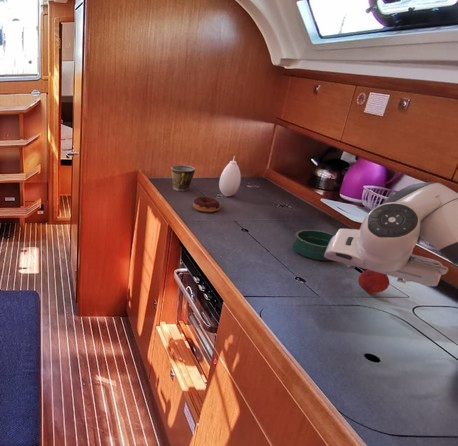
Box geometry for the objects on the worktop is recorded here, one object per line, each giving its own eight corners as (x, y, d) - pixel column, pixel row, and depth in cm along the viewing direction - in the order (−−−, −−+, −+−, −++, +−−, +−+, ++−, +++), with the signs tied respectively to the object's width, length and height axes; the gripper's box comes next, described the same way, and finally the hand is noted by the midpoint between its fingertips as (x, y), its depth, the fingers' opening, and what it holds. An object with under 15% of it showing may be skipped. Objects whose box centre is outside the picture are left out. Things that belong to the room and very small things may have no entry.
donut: (215, 215, 152) (217, 205, 151) (189, 210, 158) (190, 201, 156) (221, 207, 160) (223, 198, 158) (196, 202, 165) (197, 194, 164)
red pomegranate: (361, 298, 100) (371, 271, 97) (350, 286, 105) (359, 260, 102) (389, 300, 99) (400, 273, 96) (375, 288, 104) (385, 261, 101)
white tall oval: (240, 199, 167) (248, 157, 160) (220, 198, 168) (227, 157, 161) (234, 192, 174) (241, 152, 167) (215, 192, 175) (221, 152, 168)
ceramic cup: (168, 185, 188) (171, 164, 184) (191, 186, 185) (194, 165, 181) (169, 194, 177) (172, 172, 172) (193, 195, 173) (196, 173, 169)
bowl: (335, 247, 125) (339, 232, 123) (345, 265, 115) (350, 250, 113) (289, 241, 130) (293, 227, 128) (295, 258, 120) (299, 243, 118)
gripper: (455, 253, 80) (440, 276, 90) (331, 226, 94) (330, 248, 104) (445, 280, 79) (431, 300, 89) (321, 249, 93) (321, 269, 103)
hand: (376, 272), depth 96 cm, fingers open, 8 cm apart
